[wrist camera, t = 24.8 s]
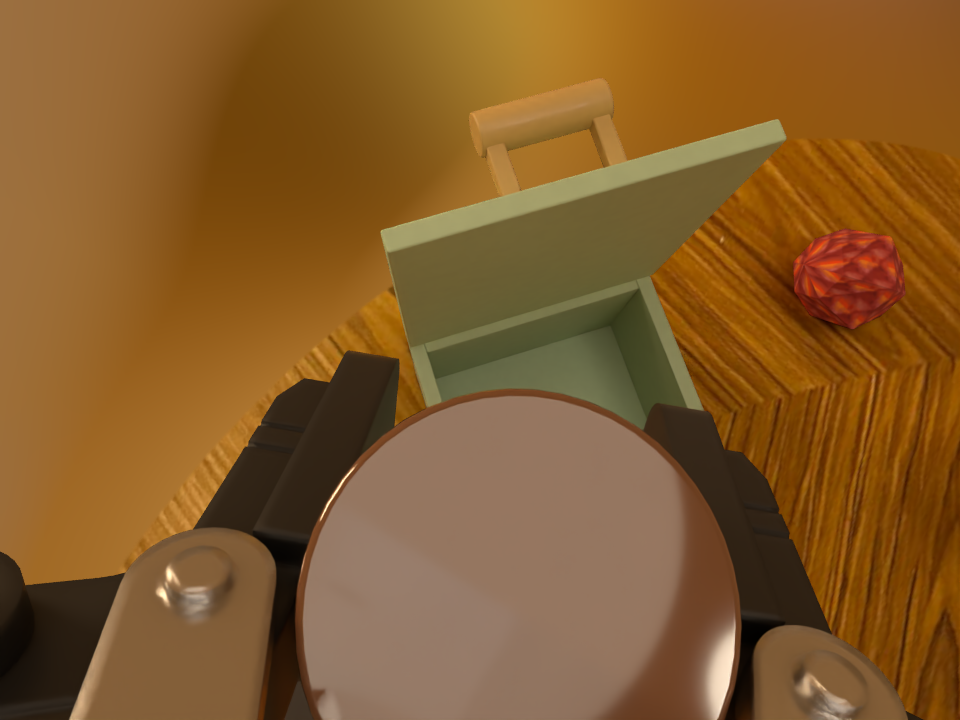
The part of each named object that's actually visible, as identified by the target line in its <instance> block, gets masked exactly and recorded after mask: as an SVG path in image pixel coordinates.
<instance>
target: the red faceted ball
mask: <svg viewBox="0 0 960 720" xmlns="http://www.w3.org/2000/svg"><path fill="white" fill-rule="evenodd" d="M793 269H794V288H795V293H796V294H797V296H798V297H799V299H800V301H801V302H802V304H803V305H804V307H805V308H806V310H807V311H808V313H809V315H811V316H814V317H817V318H820V319H823V320H826V321H829V322H832V323H835V324H838V325H841V326H844V327H847V328H850V329H854V328H856V327H858V326H861V325H863V324H865V323H867V322H869V321H871V320H873V319H875V318H877V317H880V316H881V315H882V314H883V313H885V312H886V311H887V310H888V309H889V308H890V307H891V306H893V305H894V304H895V303H896V302H897V301H898V300H899V299H901V298H902V297H903V296H904V295H905V284H904V273H903V264H902V262H901V259H900V257H899V254H898V252H897V249H896V247H895V244H894V242H893V240H892V237H889V236H883V235H878V234H872V233H867V232H861V231H856V230H850V229H842V230H839V231H837V232H834V233H831V234H828V235H825V236H822V237H819V238H816V239H815V240H814V241H813V242H812V243H811V244H810V245H809V246H808V247H807V248H806V249H805V250H804V251H803V253H802V254H801V255H800V256H799V257H798V258H797V259H796V260H795V261H794V262H793Z"/></svg>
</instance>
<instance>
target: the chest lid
mask: <svg viewBox="0 0 960 720" xmlns="http://www.w3.org/2000/svg"><path fill="white" fill-rule="evenodd" d="M613 113H614V104H613V97H612V93H611V90H610V87H609V85H608V83H607V82H606V81H605V80H604V79H602V78H599V79H595V80H591V81H587V82H583V83H580V84H576V85H572V86H568V87H564V88H561V89H557V90H553V91H549V92H545V93H542V94H538V95H534V96H530V97H527V98H523V99H519V100H515V101H511V102H508V103H504V104H500V105H496V106H492V107H489V108H485V109H481V110H478V111H474V112H471V113H470V117H469V124H470V131H471V135H472V139H473V143H474V146H475V148H476V151H477V153H478V155H479V156H480V157H482V158H484V157H485V158H486V160H487V163H488V166H489V169H490V172H491V175H492V178H493V181H494V183H495V186H496V189H497V192H498V195H499V197H498V198H494V199H491V200H487V201H484V202H480V203H477V204H473V205H469V206H466V207H463V208H459V209H455V210H452V211H448V212H444V213H441V214H437V215H434V216H430V217H427V218H423V219H420V220H416V221H412V222H409V223H405V224H402V225H398V226H395V227H391V228H388V229H384V230H382V231H381V237H382V241H383V245H384V248H385V253H386V257H387V260H388V265H389V269H390V273H391V277H392V281H393V285H394V289H395V293H396V297H397V301H398V305H399V310H400V314H401V318H402V322H403V326H404V330H405V334H406V337H407V341H408V344H409V347H414V346H418V345H421V344H424V343H428V342H431V341H434V340H438V339H441V338H444V337H448V336H451V335H454V334H457V333H461V332H464V331H467V330H471V329H474V328H477V327H481V326H484V325H487V324H491V323H494V322H497V321H501V320H504V319H507V318H511V317H514V316H517V315H521V314H524V313H527V312H530V311H534V310H537V309H540V308H544V307H547V306H550V305H554V304H557V303H560V302H564V301H567V300H570V299H574V298H577V297H580V296H584V295H587V294H590V293H593V292H597V291H600V290H603V289H607V288H610V287H613V286H617V285H620V284H623V283H627V282H630V281H633V280H637V279H640V278H643V277H647V276H650V275H652V274H653V273H654V272H655V271H656V270H657V269H658V268H659V267H660V266H661V265H662V264H663V263H664V262H665V261H666V260H667V259H668V258H669V257H670V256H671V255H672V254H673V253H674V252H675V251H676V250H677V249H678V248H679V247H680V246H681V245H682V244H683V243H684V242H685V241H686V240H687V239H688V238H689V237H690V236H691V235H692V234H693V233H694V232H695V231H696V230H697V229H698V228H699V227H700V226H701V225H702V224H703V223H704V222H705V221H706V220H707V219H708V218H709V217H710V216H711V215H712V214H713V213H714V212H715V211H716V210H717V209H718V208H719V207H720V206H721V205H722V204H723V203H724V202H725V201H726V200H727V199H728V198H729V197H730V196H731V195H732V194H733V193H734V192H735V191H736V190H737V189H738V188H739V187H740V186H741V185H742V184H743V183H744V182H745V181H746V180H747V179H748V178H749V177H750V176H751V175H752V174H753V173H754V172H755V171H756V170H757V169H758V168H759V167H760V166H761V165H762V164H763V163H764V162H765V161H766V160H767V159H768V158H769V157H770V156H771V155H772V154H773V153H774V152H775V151H776V150H777V149H778V148H779V147H780V146H781V145H782V144H783V143H784V142H785V141H786V135H785V133H784V130H783V128H782V126H781V123H780V121H779V120H778V119H776V120H773V121H769V122H765V123H762V124H758V125H755V126H751V127H748V128H744V129H740V130H737V131H733V132H730V133H727V134H723V135H719V136H715V137H712V138H708V139H705V140H701V141H698V142H694V143H691V144H687V145H683V146H680V147H676V148H673V149H669V150H666V151H662V152H658V153H655V154H651V155H648V156H644V157H641V158H637V159H633V160H630V161H628V160H627V158H626V155H625V153H624V150H623V147H622V145H621V142H620V139H619V137H618V134H617V132H616V129H615V126H614V124H613V121H612V118H613ZM586 129H590V132H591V135H592V137H593V140H594V143H595V145H596V148H597V151H598V153H599V156H600V159H601V161H602V164H603V166H604V168H602V169H598V170H594V171H591V172H587V173H584V174H580V175H576V176H573V177H570V178H566V179H562V180H559V181H555V182H552V183H548V184H544V185H541V186H537V187H534V188H530V189H527V190H523V191H521V189H520V185H519V183H518V180H517V177H516V174H515V171H514V168H513V165H512V163H511V160H510V157H509V154H508V151H509V150H513V149H517V148H520V147H524V146H528V145H531V144H535V143H539V142H542V141H546V140H550V139H553V138H557V137H561V136H564V135H568V134H572V133H575V132H579V131H582V130H586Z"/></svg>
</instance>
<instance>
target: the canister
mask: <svg viewBox="0 0 960 720" xmlns="http://www.w3.org/2000/svg"><path fill="white" fill-rule="evenodd" d="M294 630H295V651H296V657H297V663H298V669H299V675H300V681H301V685H302V688H303V691H304V695H305V698H306V701H307V705H308V708H309V711H310V714H311V716H312V718H313V720H725V717H726V714H727V711H728V708H729V704H730V701H731V698H732V695H733V692H734V688H735V682H736V677H737V671H738V665H739V660H740V644H741V614H740V600H739V592H738V587H737V582H736V576H735V571H734V566H733V563H732V560H731V556H730V553H729V550H728V547H727V544H726V541H725V538H724V535H723V533H722V531H721V529H720V527H719V524H718V522H717V520H716V518H715V516H714V514H713V511H712V509H711V508H710V506H709V505H708V503H707V501H706V500H705V498H704V496H703V495H702V493H701V491H700V490H699V488H698V487H697V485H696V484H695V482H694V481H693V480H692V479H691V477H690V476H689V475H688V474H687V472H686V471H685V470H684V469H683V467H682V466H681V465H680V464H679V462H678V461H677V460H676V459H675V458H674V457H673V456H672V455H671V454H670V453H669V452H668V451H666V450H665V449H664V448H663V447H662V446H661V445H660V444H659V443H658V442H657V441H656V440H654V439H653V438H652V437H651V436H649V435H648V434H647V433H645V432H644V431H643V430H641V429H640V428H639V427H638V426H636V425H635V424H633V423H631V422H630V421H628V420H626V419H624V418H623V417H621V416H619V415H618V414H616V413H614V412H613V411H610V410H608V409H606V408H603V407H601V406H599V405H596V404H594V403H592V402H589V401H587V400H584V399H580V398H577V397H573V396H570V395H566V394H563V393H558V392H551V391H545V390H538V389H520V388H505V389H495V390H485V391H478V392H474V393H470V394H466V395H461V396H457V397H453V398H451V399H448V400H445V401H443V402H440V403H438V404H435V405H432V406H430V407H427V408H426V409H424V410H422V411H420V412H418V413H416V414H414V415H412V416H411V417H409V418H407V419H405V420H403V421H402V422H400V423H399V424H398V425H396V426H395V427H393V428H392V429H391V430H389V431H388V432H386V433H385V434H384V435H382V436H381V437H380V438H379V439H378V440H377V441H375V442H374V443H373V444H372V445H371V446H370V447H369V448H368V449H367V450H366V451H365V452H363V453H362V454H361V455H360V456H359V458H358V459H357V460H356V461H355V462H354V464H353V465H352V466H351V467H350V468H349V469H348V471H347V472H346V473H345V474H344V475H343V477H342V478H341V479H340V481H339V482H338V484H337V486H336V487H335V489H334V490H333V492H332V493H331V495H330V496H329V498H328V499H327V501H326V503H325V505H324V507H323V509H322V511H321V513H320V515H319V517H318V519H317V521H316V523H315V525H314V527H313V530H312V532H311V535H310V538H309V541H308V544H307V547H306V550H305V553H304V556H303V560H302V564H301V569H300V574H299V579H298V584H297V589H296V601H295V614H294Z"/></svg>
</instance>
